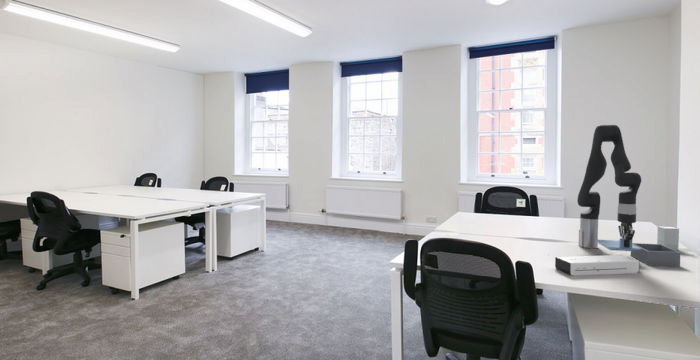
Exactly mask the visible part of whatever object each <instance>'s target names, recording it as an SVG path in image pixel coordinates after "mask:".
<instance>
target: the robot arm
mask: <svg viewBox="0 0 700 360" xmlns="http://www.w3.org/2000/svg"><path fill="white" fill-rule="evenodd" d="M594 129H595V130H594V133H593V136H592V137H593V138H592V143H591V144H592V145H591V150H590V154H589V157H588V162H587V165H586V169H585V174H584V176H583V181H582V184H581V187H580V189H579V192H578V195H577V204H578V206H579V207H582V208H589V209H587V210H585V211H582V212H580V217H579V219H580V220H579V229H578V246H579V247H580V248H586V249H597V248H598V246H599V243H598V242H596V241H595V240H599V215H600V208H601V195H600V193H599V192H598V191H591V189H592V188H593V187H594V186H595V184H597V183H598V182H599V181H600V180H601V179H602V178H603V176H604V175H605V173H606V169H607V165H608V162H607V159H606V157H605V156H604V153H603V151H602V144H603V143H611V142H612V143H613V145H614V146H613V147H614V148H613V150H612V151H611V154H610V161H611V164H612V167H613V170H614V182H615V184H616V185H617V186H618V187H621V188H623V187H624V188H625V187H626V188H627V187H628V189H627V190H622V191H620V192H619V194H618V205H617V222H618V223H620V225H618V227H617V228H618V232H619V236H620V237H619V238H624V247H626V248H629V247H630V240H632V241H633V239H634V235H635V233H636V230H635V229H633V228H634V227H633V224H635V223H636V222H637V194H638V192H639V189H640V186H641V183H642V176H641V175H640V173H638V172H629V171H630V170H631V168H632V166H631V163H630V160H629V158H628V156H627V154H626V151H625V144H624V140H623V136H622V131H621V129H620V127H619V125H616V124H598V125H597V126H595V128H594Z"/></svg>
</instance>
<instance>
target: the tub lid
mask: <svg viewBox="0 0 700 360" xmlns="http://www.w3.org/2000/svg"><path fill="white" fill-rule="evenodd" d="M595 241H596V242H598V245H600V246H602V247H604V248H606V249H607V250H609V251H618V252H619V251H620V252H631V251H637V250H641V248H639V247H637V246H635V245H633V244H632V243H633V239H632V240H630V247H629V248H626V247H624V238H622V237H619V240H618V239H617V240H615V239H613V240H612V239H598V240H595Z"/></svg>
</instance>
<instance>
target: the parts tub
mask: <svg viewBox="0 0 700 360" xmlns="http://www.w3.org/2000/svg"><path fill="white" fill-rule="evenodd" d="M632 244H633V245H635V246H637V247H639V248H641V250H637V251H630V257H631V258H633V259H636V260H639V262H641V263H642V264H644V265H646V266H659V267H660V266H661V267H663V266H664V267H665V266H666V267H681V251H679V250H673V249H671V248H669V247H666V246H664V245H662V244H657V243H636V242H632Z"/></svg>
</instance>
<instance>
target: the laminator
mask: <svg viewBox="0 0 700 360" xmlns="http://www.w3.org/2000/svg"><path fill="white" fill-rule="evenodd" d="M554 258H555V262H554V263H555V264H554V266H555V269H556V268H557V270H559V271H561V272H563V273H565V274H567V275H569V276H571V275H574V276H593V275H595V276H596V275H618V274H619V275H620V274H621V275H622V274H624V275H625V273H627V274H638V273H639V272H640V261H639V260H637V259H635V258H633V257H629V256H626V255H623V254H611V255H609V254H608V255H585V256H584V255H579V256H578V255H577V256H556V257H554Z"/></svg>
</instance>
